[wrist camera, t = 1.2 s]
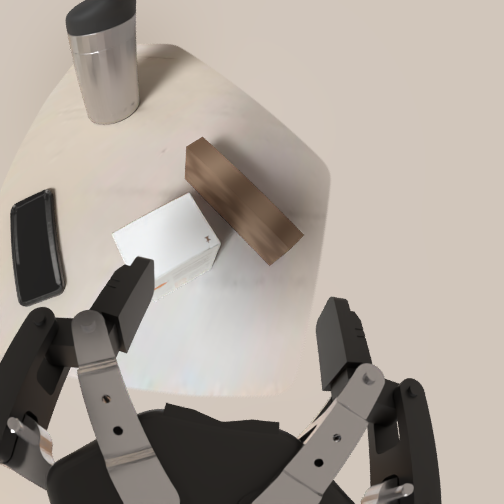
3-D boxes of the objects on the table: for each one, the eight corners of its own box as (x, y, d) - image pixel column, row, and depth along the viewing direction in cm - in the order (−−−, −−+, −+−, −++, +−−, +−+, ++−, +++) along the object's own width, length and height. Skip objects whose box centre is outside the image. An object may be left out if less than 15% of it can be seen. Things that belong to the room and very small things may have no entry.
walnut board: (184, 178, 35) (186, 146, 28) (198, 169, 36) (202, 136, 29) (269, 265, 34) (289, 249, 27) (282, 253, 35) (303, 235, 28)
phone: (50, 187, 29) (64, 291, 26) (53, 190, 30) (67, 292, 27) (10, 206, 26) (18, 308, 24) (13, 209, 28) (23, 309, 25)
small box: (188, 231, 33) (191, 189, 23) (211, 270, 32) (223, 242, 22) (131, 262, 30) (109, 231, 20) (153, 304, 29) (138, 290, 20)
